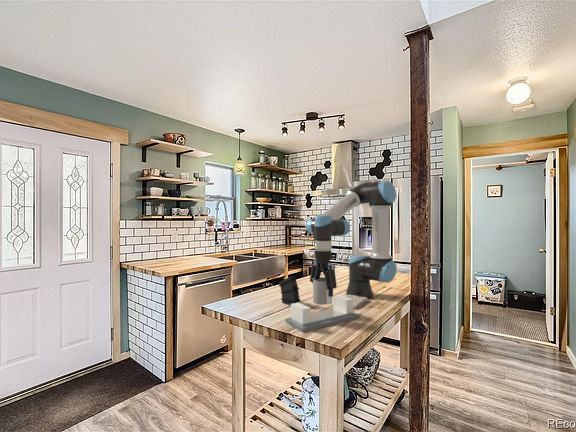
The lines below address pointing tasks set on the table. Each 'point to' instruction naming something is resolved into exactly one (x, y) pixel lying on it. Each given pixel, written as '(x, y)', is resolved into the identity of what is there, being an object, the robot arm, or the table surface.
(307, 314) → the block
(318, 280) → the cup
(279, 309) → the table surface
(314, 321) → the steel rail
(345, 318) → the rail board
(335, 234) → the robot arm
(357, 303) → the washcloth
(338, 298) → the module
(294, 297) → the black ribbed block
